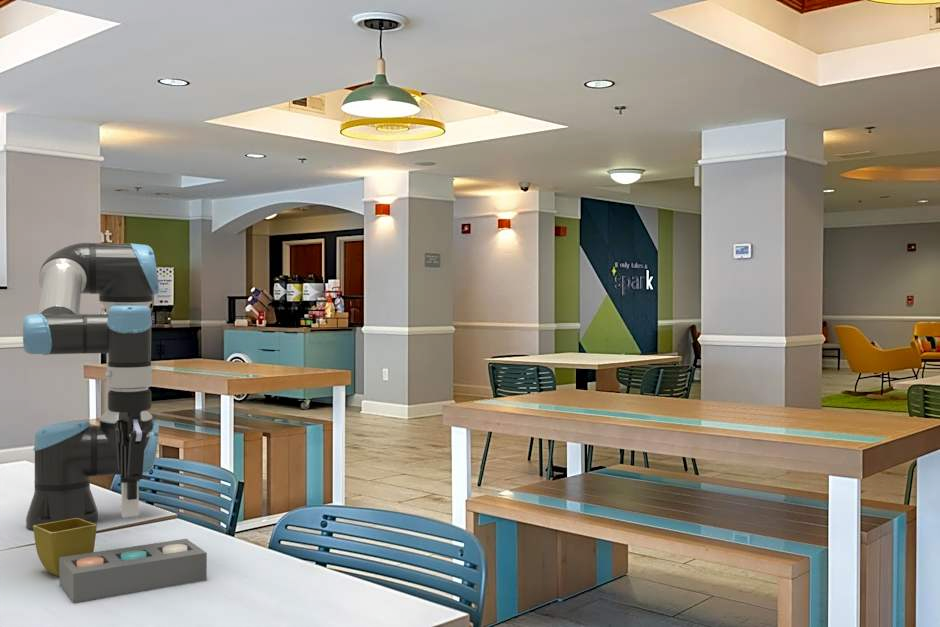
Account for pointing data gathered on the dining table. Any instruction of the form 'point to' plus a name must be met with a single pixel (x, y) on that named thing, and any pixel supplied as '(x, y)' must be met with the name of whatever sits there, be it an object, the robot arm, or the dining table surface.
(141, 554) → the teal button
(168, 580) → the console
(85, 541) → the flower pot
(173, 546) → the cream button
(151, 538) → the dining table surface
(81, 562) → the terracotta button
